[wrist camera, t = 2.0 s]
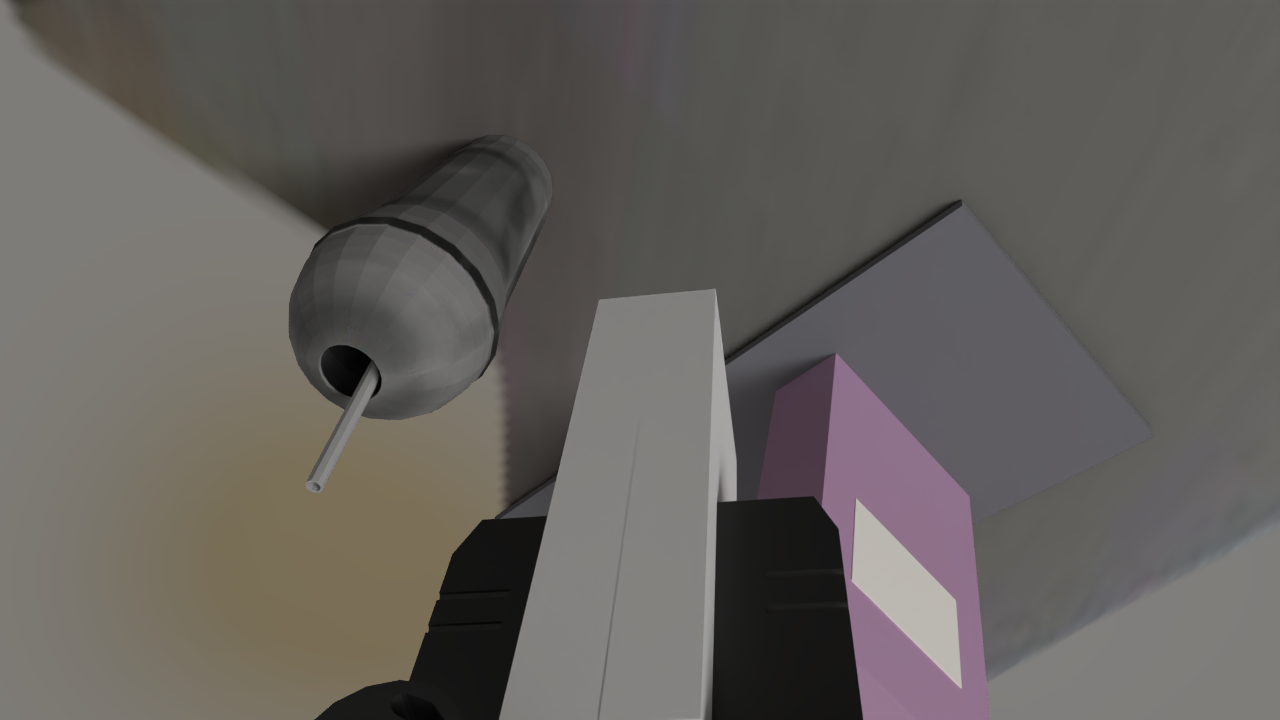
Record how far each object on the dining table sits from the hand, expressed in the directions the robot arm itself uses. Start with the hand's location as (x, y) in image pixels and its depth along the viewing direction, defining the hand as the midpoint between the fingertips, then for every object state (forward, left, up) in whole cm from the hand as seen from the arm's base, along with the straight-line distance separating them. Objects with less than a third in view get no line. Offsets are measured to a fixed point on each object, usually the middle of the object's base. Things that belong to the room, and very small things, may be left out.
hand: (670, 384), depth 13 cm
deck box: (+4, -22, -28) cm, 36 cm away
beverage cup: (-13, -10, -29) cm, 33 cm away
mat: (0, -25, -29) cm, 38 cm away
